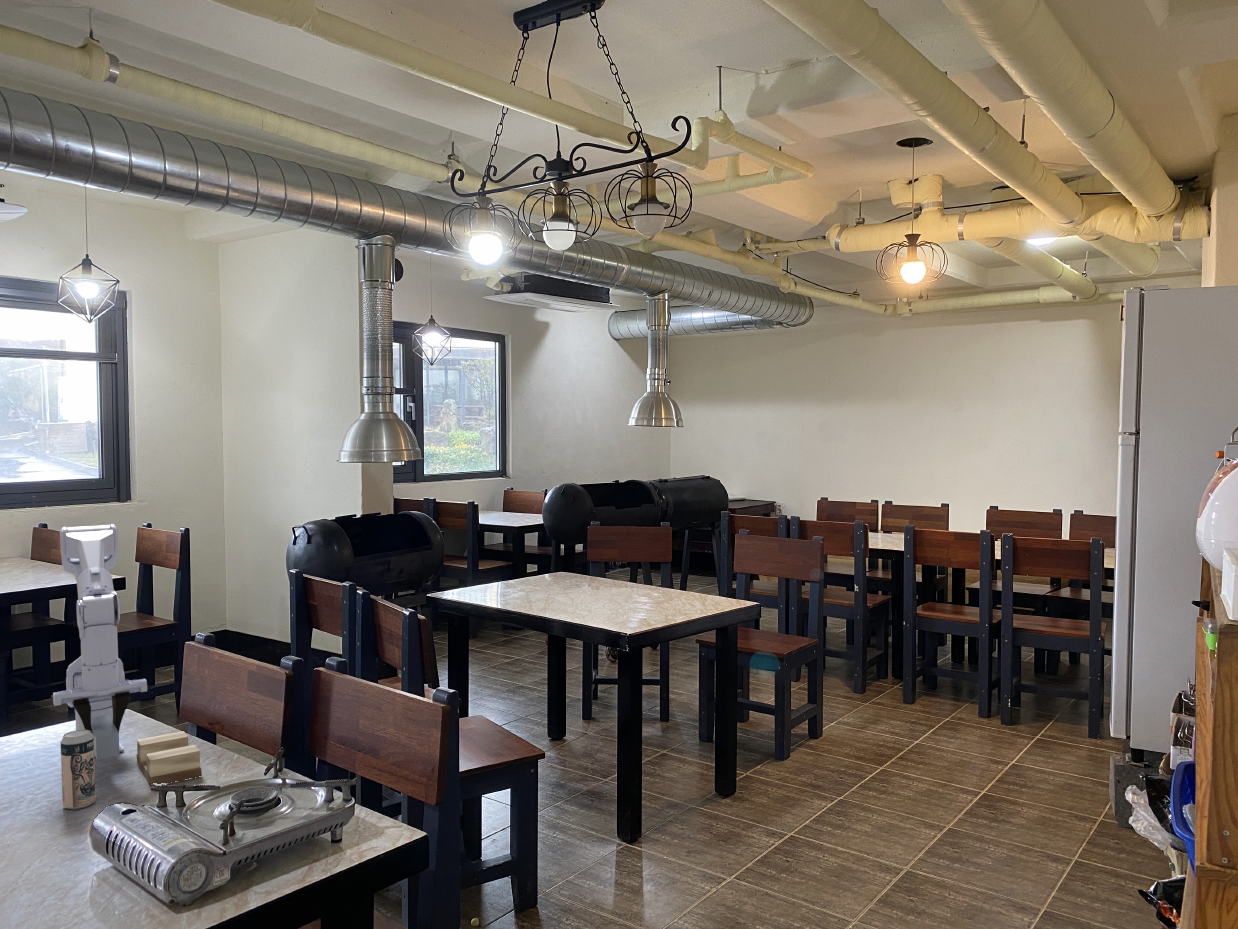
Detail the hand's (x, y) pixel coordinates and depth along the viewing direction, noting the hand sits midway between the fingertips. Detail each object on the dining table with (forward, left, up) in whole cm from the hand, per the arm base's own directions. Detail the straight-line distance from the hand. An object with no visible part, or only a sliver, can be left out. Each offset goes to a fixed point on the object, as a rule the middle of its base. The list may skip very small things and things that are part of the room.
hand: (102, 737), depth 166 cm
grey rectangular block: (0, 0, -2) cm, 2 cm away
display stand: (+3, +10, -7) cm, 13 cm away
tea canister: (+12, -5, -7) cm, 15 cm away
